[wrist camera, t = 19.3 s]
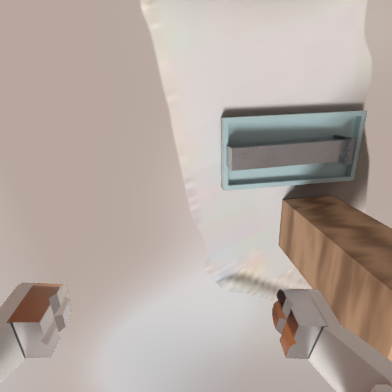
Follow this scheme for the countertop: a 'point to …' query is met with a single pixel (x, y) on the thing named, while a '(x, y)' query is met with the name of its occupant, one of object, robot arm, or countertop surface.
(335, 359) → the robot arm
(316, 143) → the gray rectangular bar
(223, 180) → the tray
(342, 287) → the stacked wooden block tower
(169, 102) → the countertop surface
